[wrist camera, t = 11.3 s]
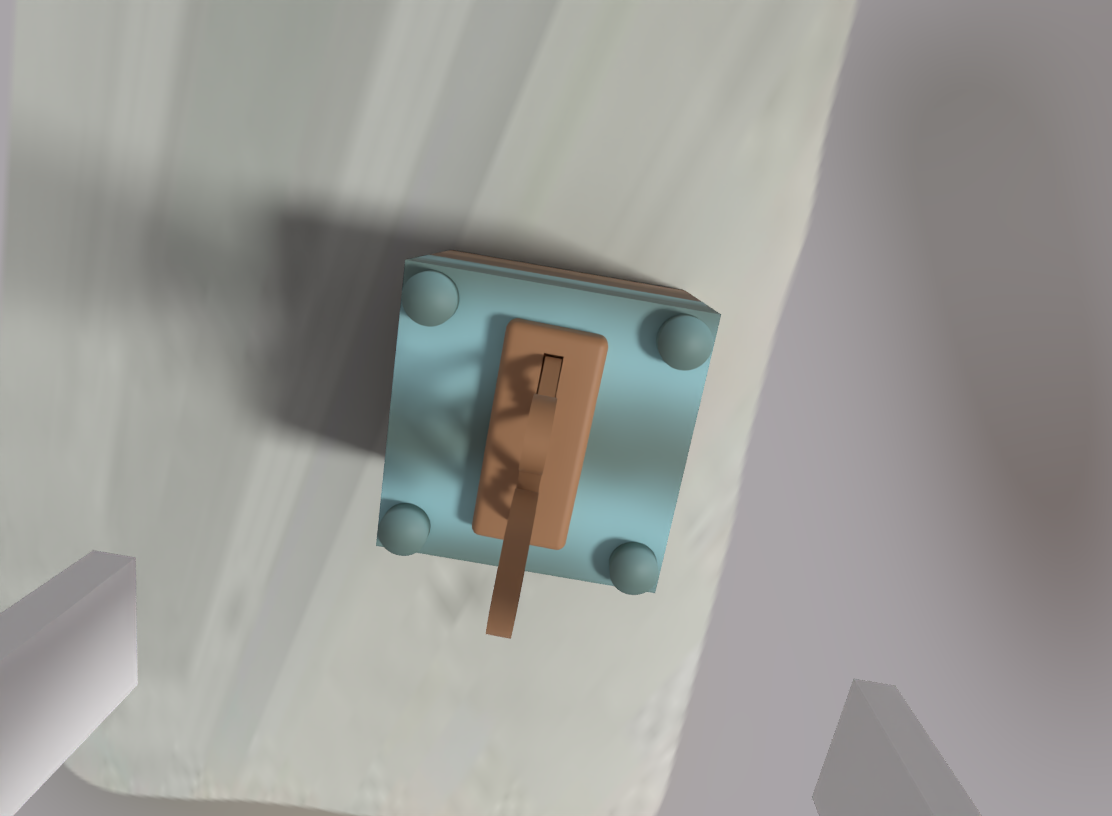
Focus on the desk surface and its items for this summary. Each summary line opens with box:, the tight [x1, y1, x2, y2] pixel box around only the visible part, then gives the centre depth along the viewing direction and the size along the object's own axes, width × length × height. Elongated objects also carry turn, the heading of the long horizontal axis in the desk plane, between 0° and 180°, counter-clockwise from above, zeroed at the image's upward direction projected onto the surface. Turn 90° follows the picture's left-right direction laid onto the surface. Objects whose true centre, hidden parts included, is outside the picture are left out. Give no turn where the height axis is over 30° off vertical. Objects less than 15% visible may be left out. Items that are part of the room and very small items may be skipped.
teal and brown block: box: [376, 250, 721, 595], centre depth 30 cm, size 12×12×10 cm
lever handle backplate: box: [472, 318, 608, 639], centre depth 21 cm, size 9×4×12 cm, turn 169°
